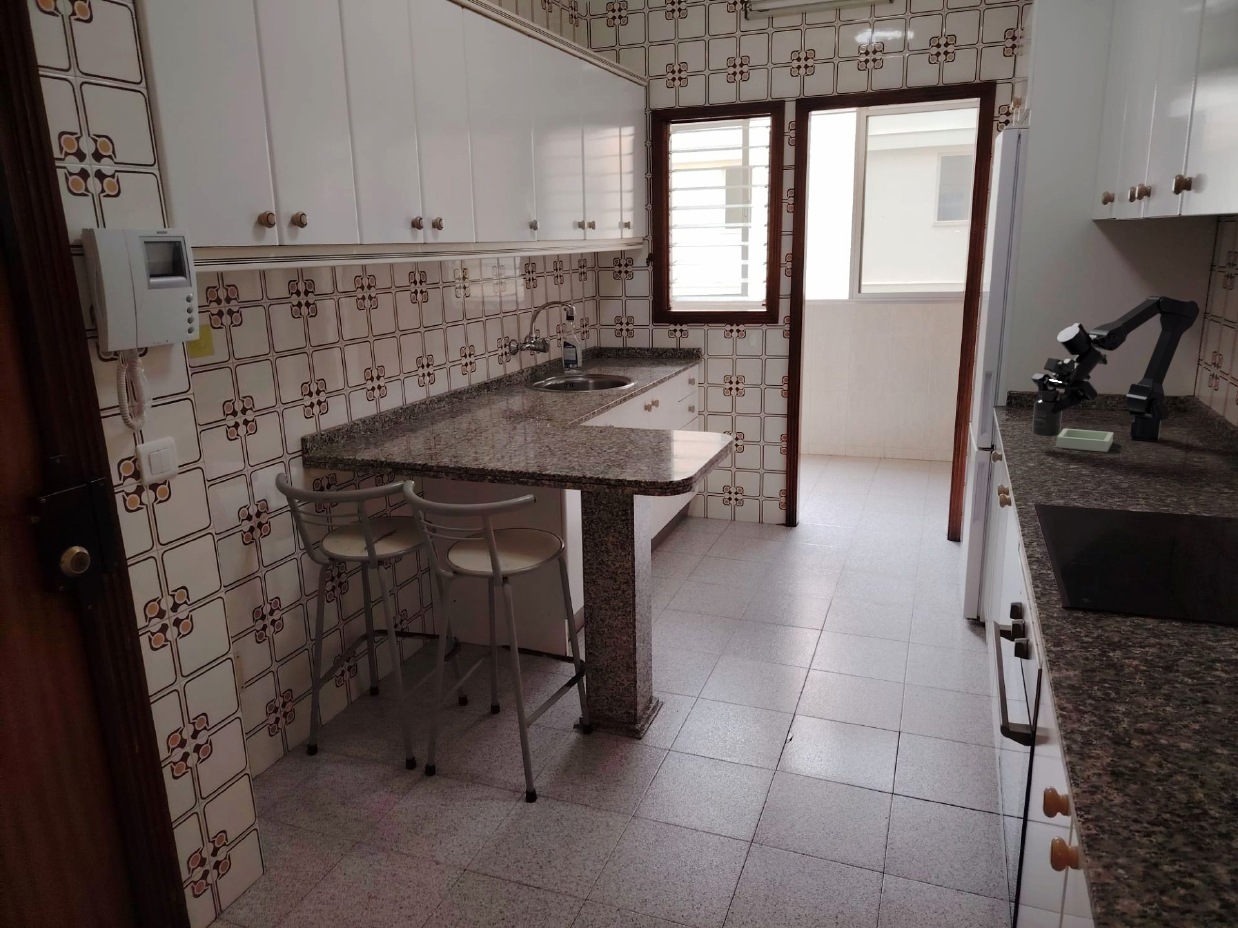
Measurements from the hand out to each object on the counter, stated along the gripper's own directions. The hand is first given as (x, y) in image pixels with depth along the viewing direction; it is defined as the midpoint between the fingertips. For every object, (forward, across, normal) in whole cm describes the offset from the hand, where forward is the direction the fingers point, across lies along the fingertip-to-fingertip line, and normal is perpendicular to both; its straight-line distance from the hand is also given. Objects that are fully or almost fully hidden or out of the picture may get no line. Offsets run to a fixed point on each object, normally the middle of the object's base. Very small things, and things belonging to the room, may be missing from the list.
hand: (1043, 410), depth 229 cm
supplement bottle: (+4, 0, +6) cm, 7 cm away
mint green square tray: (-3, 0, +19) cm, 19 cm away
